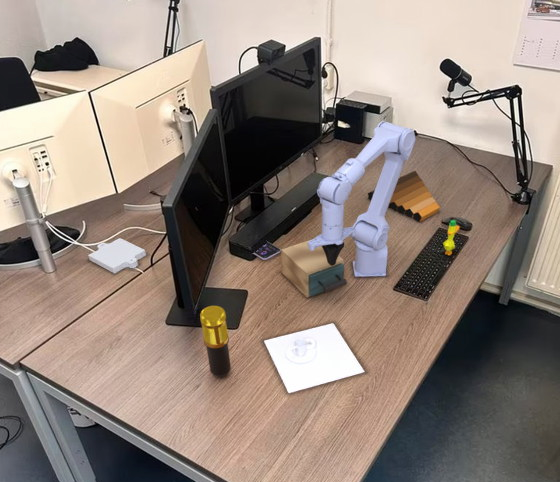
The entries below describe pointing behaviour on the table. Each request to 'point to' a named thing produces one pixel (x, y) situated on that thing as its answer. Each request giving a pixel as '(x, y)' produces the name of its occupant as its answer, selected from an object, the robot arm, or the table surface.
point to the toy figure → (450, 237)
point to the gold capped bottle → (216, 340)
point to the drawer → (326, 279)
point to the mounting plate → (117, 255)
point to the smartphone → (267, 251)
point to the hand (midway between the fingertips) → (331, 263)
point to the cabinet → (303, 264)
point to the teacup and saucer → (312, 357)
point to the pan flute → (412, 198)
